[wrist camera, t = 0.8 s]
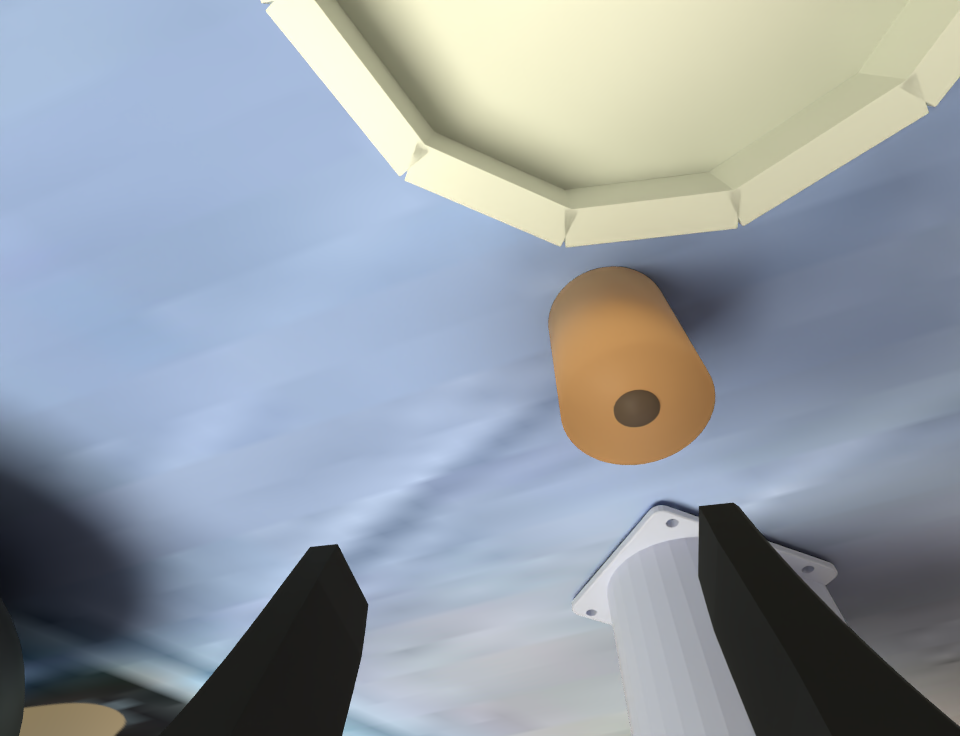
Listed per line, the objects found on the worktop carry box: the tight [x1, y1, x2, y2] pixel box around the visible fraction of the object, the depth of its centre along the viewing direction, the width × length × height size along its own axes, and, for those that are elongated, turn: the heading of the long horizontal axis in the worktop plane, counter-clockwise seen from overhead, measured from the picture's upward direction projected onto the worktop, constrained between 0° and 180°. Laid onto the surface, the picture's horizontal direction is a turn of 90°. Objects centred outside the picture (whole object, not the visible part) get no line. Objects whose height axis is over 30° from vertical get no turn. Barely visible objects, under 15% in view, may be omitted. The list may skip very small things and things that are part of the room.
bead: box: [548, 266, 715, 465], centre depth 16 cm, size 4×4×5 cm
